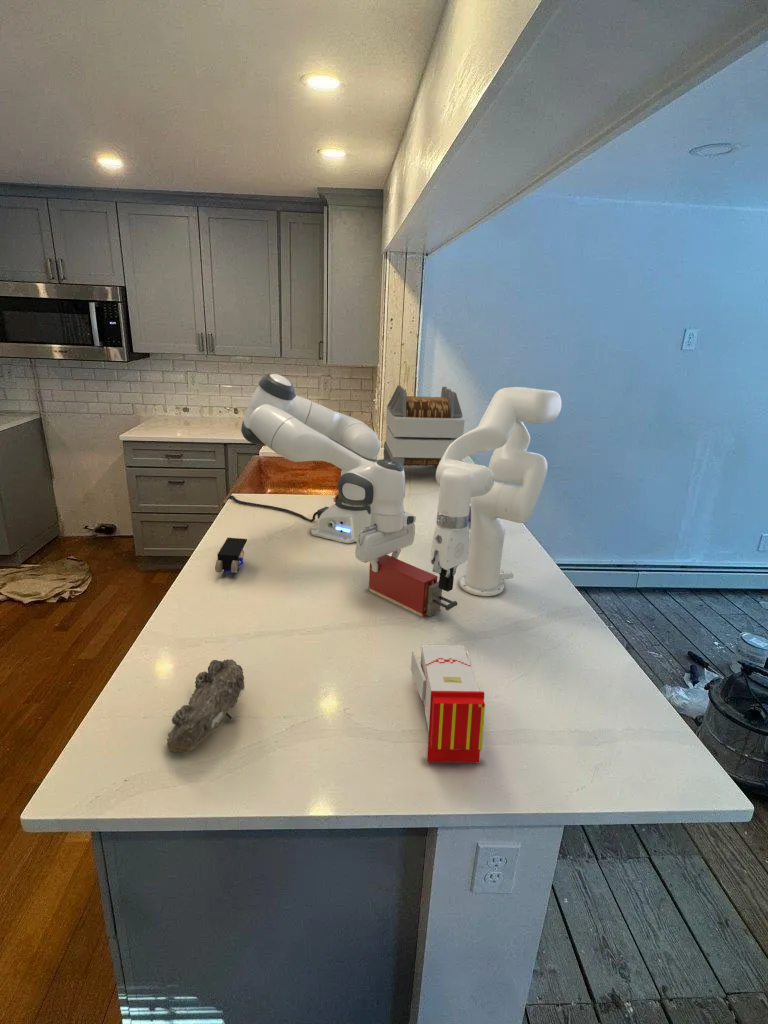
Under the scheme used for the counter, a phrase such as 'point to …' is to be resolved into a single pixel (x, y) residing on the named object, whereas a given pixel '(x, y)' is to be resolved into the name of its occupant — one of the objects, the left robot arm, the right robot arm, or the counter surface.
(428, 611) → the drawer
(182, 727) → the fossil
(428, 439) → the transformer
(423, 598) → the cabinet
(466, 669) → the toy
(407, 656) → the counter surface
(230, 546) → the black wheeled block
